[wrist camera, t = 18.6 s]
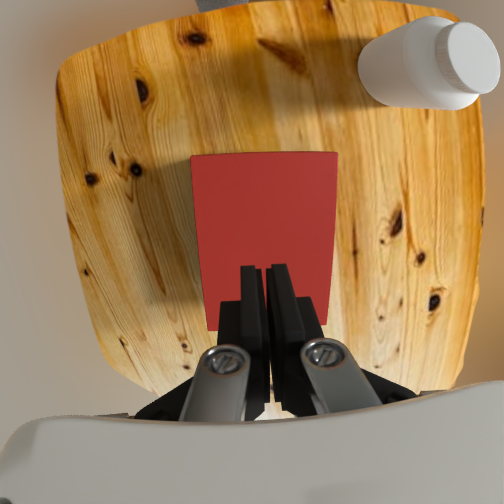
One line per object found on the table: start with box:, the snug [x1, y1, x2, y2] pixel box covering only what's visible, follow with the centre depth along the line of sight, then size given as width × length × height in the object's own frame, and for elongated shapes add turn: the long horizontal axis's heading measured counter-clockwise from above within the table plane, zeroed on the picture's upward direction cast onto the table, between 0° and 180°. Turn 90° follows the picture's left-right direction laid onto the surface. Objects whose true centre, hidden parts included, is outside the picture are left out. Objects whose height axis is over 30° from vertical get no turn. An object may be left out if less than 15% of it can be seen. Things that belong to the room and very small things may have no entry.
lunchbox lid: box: [190, 151, 338, 331], centre depth 28 cm, size 16×12×1 cm
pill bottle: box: [358, 16, 500, 110], centre depth 21 cm, size 8×8×15 cm
